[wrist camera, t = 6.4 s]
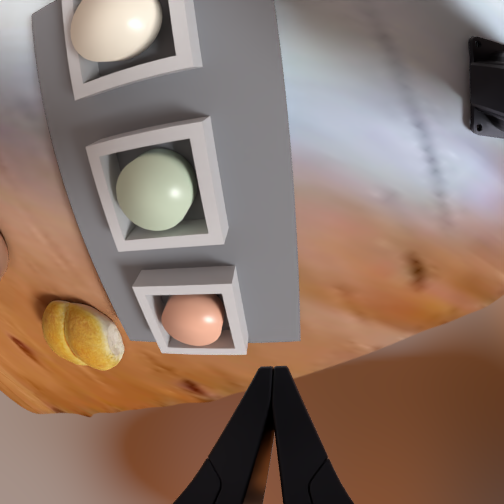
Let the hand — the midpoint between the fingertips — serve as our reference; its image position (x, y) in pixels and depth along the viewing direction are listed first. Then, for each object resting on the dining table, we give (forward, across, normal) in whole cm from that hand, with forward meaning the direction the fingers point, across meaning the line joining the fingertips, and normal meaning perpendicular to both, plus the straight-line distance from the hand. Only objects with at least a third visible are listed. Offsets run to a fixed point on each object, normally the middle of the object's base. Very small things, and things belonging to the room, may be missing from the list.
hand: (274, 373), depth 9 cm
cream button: (+9, +6, -12) cm, 16 cm away
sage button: (+10, +6, -3) cm, 12 cm away
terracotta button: (+10, +6, +6) cm, 13 cm away
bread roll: (+12, +20, +11) cm, 26 cm away
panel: (+12, +6, -3) cm, 14 cm away
